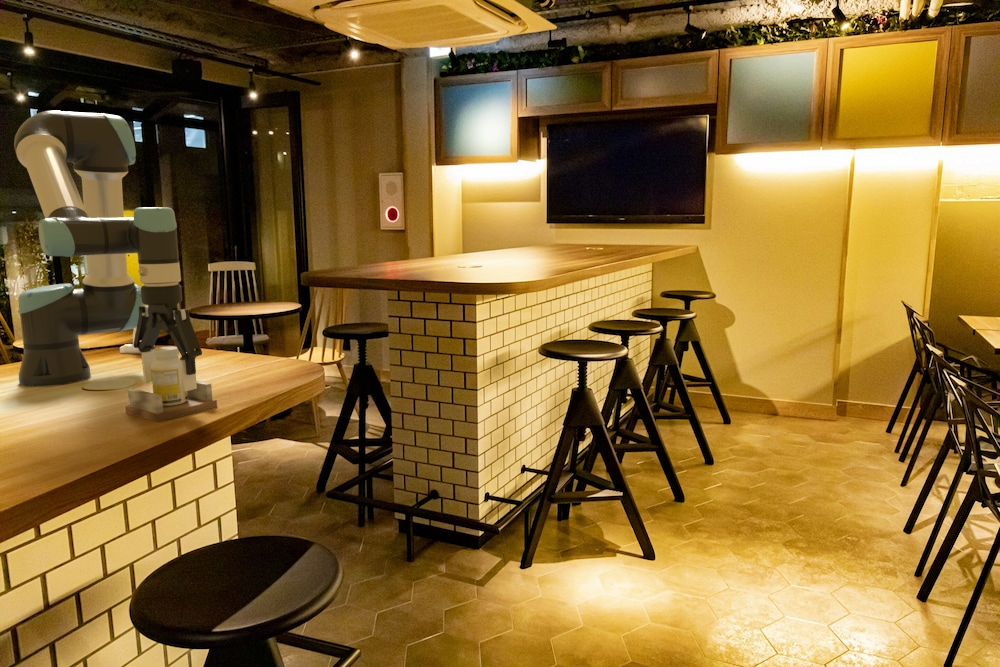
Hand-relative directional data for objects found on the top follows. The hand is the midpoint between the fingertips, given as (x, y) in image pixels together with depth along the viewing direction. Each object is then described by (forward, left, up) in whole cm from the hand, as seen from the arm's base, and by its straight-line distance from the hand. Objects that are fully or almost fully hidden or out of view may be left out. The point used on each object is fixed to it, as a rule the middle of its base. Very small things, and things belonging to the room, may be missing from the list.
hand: (170, 385), depth 148 cm
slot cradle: (0, 0, -5) cm, 5 cm away
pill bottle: (0, 0, -4) cm, 4 cm away
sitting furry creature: (-66, +33, -6) cm, 74 cm away
